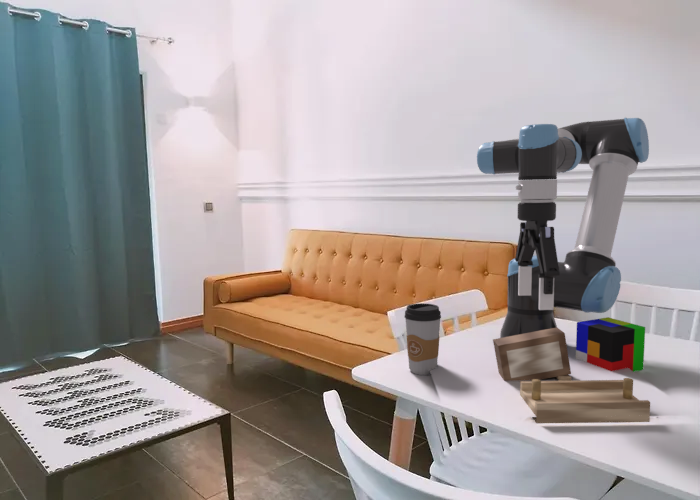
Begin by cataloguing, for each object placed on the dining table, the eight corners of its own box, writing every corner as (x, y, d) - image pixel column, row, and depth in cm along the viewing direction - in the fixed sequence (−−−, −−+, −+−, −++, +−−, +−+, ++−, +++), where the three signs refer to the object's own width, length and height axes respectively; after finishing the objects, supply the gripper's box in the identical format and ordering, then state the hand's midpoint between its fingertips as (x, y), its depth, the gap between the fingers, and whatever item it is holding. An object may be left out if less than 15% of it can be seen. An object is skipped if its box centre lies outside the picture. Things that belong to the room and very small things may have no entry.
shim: (549, 376, 119) (549, 367, 119) (560, 376, 119) (560, 367, 119) (559, 386, 113) (559, 377, 113) (571, 386, 113) (571, 377, 113)
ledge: (519, 400, 106) (520, 371, 105) (622, 399, 106) (623, 370, 105) (536, 423, 96) (537, 391, 96) (649, 421, 96) (651, 389, 95)
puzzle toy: (575, 363, 127) (576, 322, 126) (606, 357, 131) (608, 317, 130) (611, 377, 118) (612, 332, 117) (643, 370, 122) (645, 327, 121)
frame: (505, 386, 114) (498, 345, 113) (499, 378, 118) (492, 339, 117) (571, 373, 113) (564, 333, 112) (563, 366, 118) (556, 327, 117)
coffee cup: (397, 371, 124) (396, 307, 122) (418, 362, 130) (418, 301, 128) (427, 379, 119) (427, 313, 117) (448, 369, 125) (448, 306, 123)
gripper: (502, 199, 123) (501, 290, 126) (538, 204, 99) (536, 316, 101) (535, 198, 123) (533, 289, 126) (580, 203, 99) (576, 316, 101)
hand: (534, 302), depth 114 cm, fingers open, 13 cm apart
